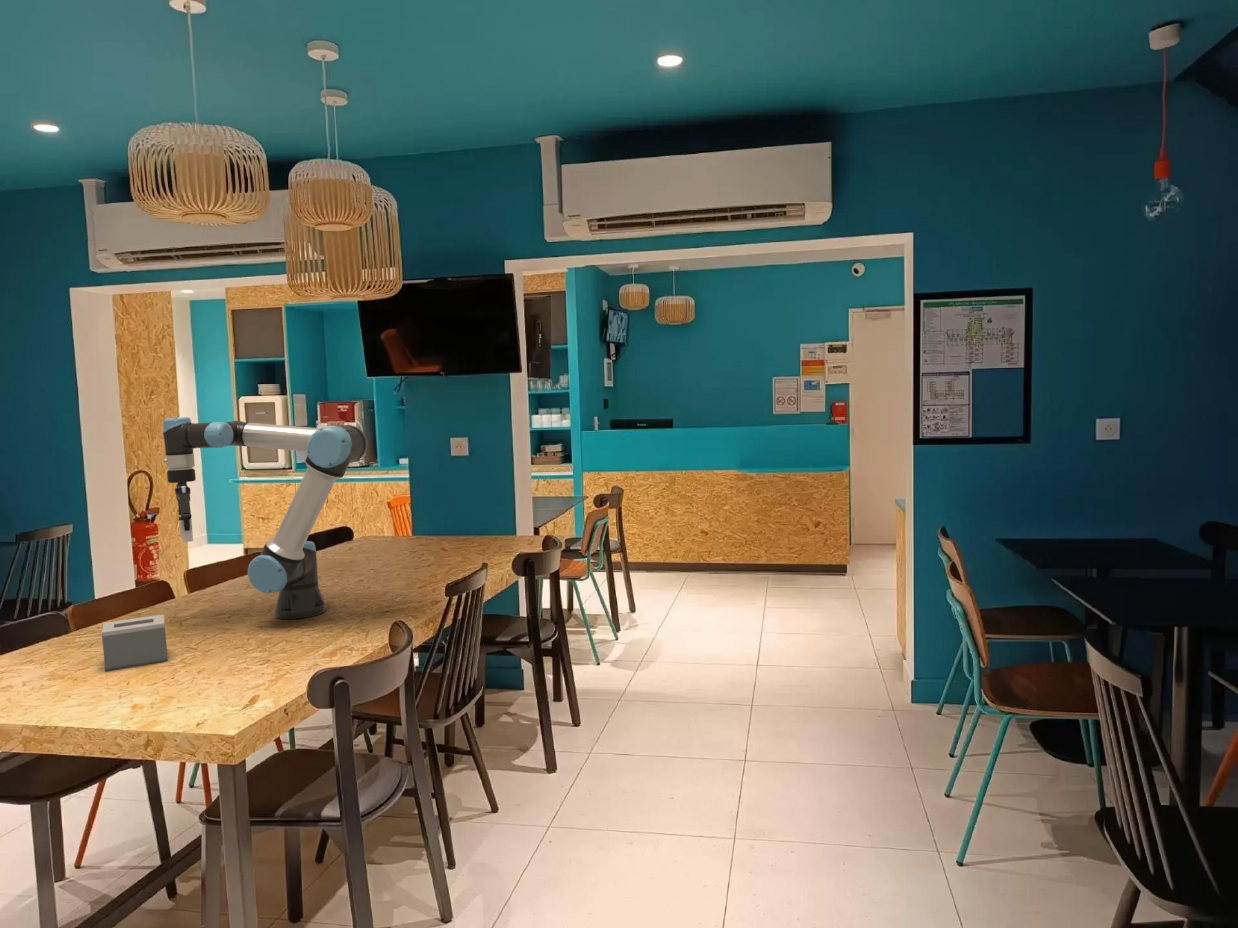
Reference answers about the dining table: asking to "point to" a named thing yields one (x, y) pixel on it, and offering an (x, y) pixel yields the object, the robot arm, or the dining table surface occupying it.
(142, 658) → the box with rectangular hole
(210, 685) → the dining table surface
